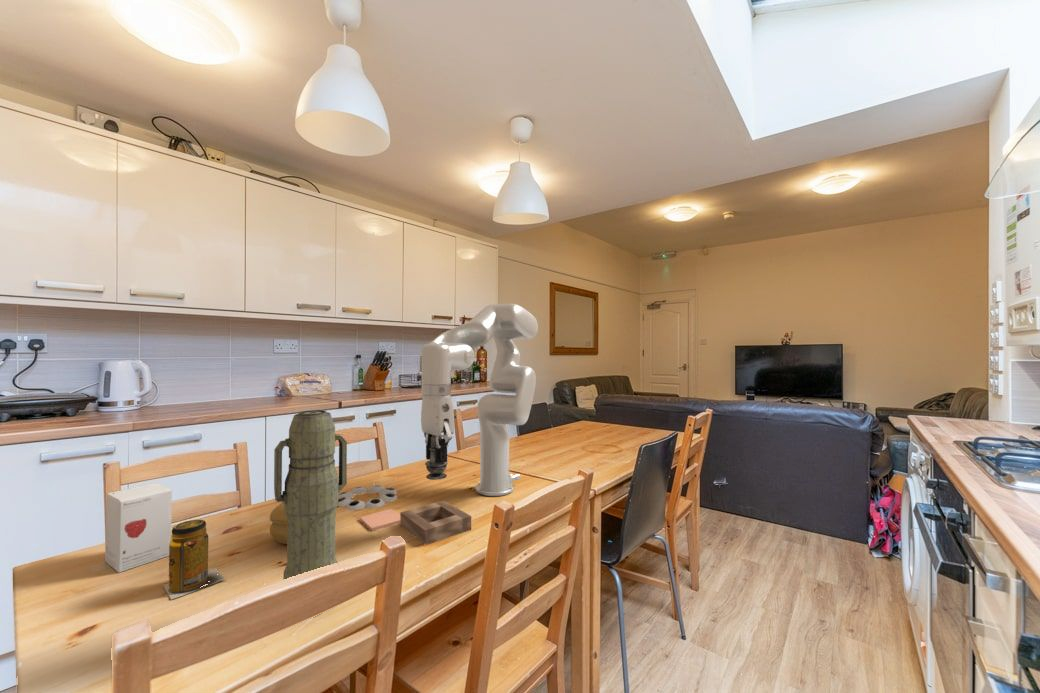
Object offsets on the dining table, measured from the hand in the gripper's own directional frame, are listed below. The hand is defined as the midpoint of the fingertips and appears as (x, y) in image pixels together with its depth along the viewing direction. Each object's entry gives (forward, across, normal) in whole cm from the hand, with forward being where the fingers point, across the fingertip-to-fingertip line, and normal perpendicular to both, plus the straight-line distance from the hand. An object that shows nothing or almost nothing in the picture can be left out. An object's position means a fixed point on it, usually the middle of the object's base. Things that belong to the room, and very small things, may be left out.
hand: (436, 459), depth 108 cm
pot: (+18, +16, +30) cm, 38 cm away
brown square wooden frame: (+18, 0, 0) cm, 18 cm away
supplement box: (+17, +28, +58) cm, 67 cm away
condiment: (+17, +8, +50) cm, 53 cm away
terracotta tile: (+18, +13, +10) cm, 24 cm away
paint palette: (+18, +33, +6) cm, 38 cm away
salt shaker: (+5, 0, 0) cm, 5 cm away
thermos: (+17, -14, +34) cm, 40 cm away
